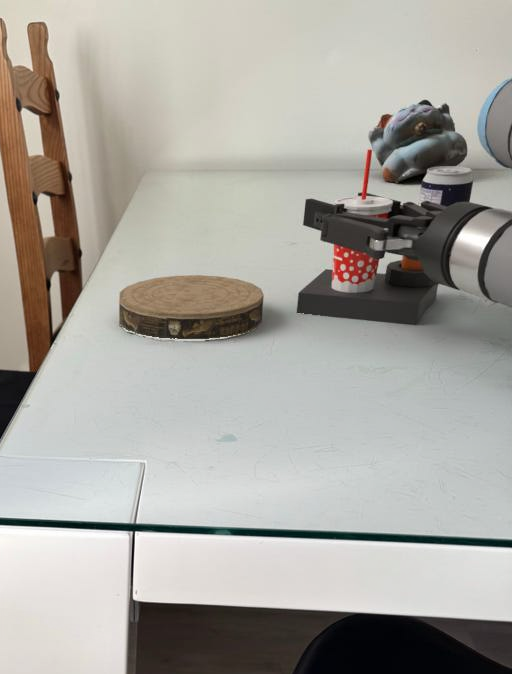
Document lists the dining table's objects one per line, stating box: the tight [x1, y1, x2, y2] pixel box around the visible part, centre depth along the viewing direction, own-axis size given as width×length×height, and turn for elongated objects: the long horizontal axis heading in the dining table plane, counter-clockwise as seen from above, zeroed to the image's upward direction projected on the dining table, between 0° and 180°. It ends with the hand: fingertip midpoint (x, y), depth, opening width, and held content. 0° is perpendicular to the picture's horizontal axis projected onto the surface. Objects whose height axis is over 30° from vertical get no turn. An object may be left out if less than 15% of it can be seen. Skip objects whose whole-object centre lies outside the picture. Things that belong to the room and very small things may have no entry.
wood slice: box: [118, 274, 265, 339], centre depth 112 cm, size 16×16×3 cm
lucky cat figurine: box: [367, 99, 468, 184], centre depth 175 cm, size 15×12×14 cm
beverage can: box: [417, 166, 474, 207], centre depth 120 cm, size 6×6×12 cm
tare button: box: [401, 255, 423, 270], centre depth 112 cm, size 3×3×2 cm
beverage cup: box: [331, 149, 394, 293], centre depth 108 cm, size 6×6×14 cm
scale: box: [296, 259, 440, 326], centre depth 113 cm, size 13×12×4 cm
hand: (333, 208), depth 112 cm, fingers closed on beverage cup, 6 cm apart
